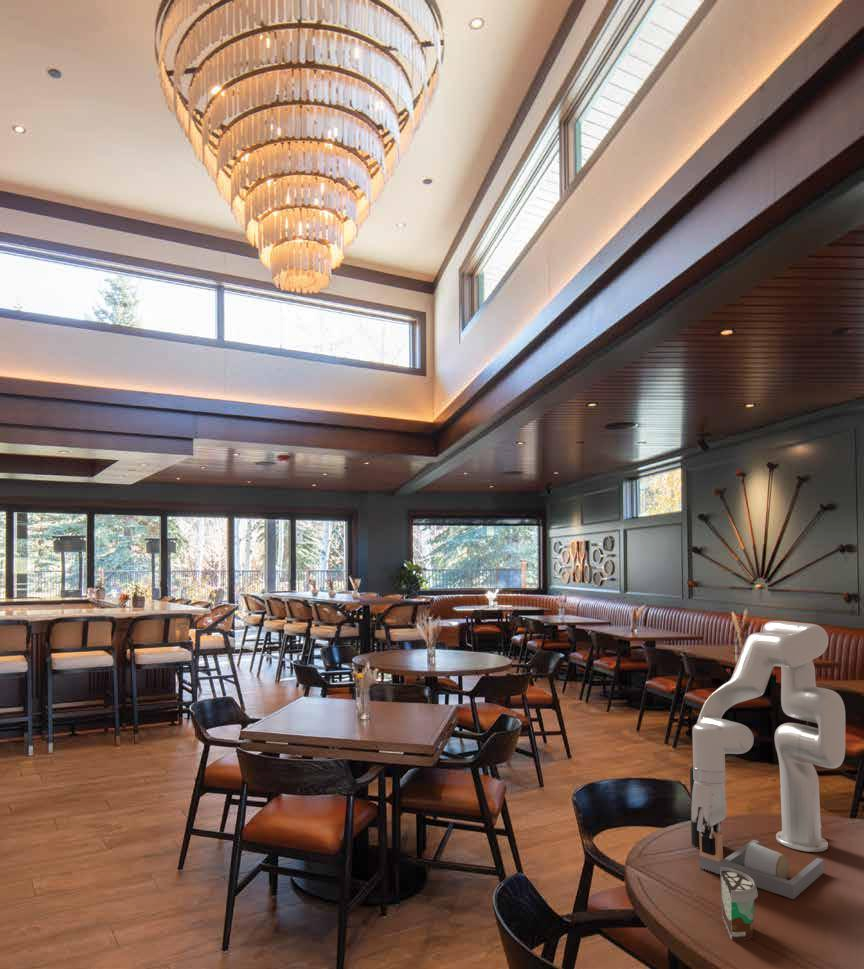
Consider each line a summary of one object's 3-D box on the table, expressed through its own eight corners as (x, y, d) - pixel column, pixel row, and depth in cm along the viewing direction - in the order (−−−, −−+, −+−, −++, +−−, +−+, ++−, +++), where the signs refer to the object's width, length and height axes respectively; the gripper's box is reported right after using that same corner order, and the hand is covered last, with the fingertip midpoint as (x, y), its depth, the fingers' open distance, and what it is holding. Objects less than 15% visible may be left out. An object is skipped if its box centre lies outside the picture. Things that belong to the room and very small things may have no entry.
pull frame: (735, 845, 191) (733, 810, 192) (824, 872, 175) (822, 834, 176) (700, 868, 177) (699, 830, 178) (793, 899, 161) (791, 857, 162)
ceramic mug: (779, 891, 165) (778, 857, 166) (743, 879, 171) (743, 846, 172) (795, 878, 173) (794, 845, 173) (761, 867, 178) (760, 835, 179)
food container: (766, 947, 141) (764, 894, 142) (733, 943, 143) (731, 891, 144) (751, 917, 153) (749, 868, 154) (721, 914, 155) (719, 865, 156)
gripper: (708, 765, 186) (710, 839, 184) (679, 778, 175) (681, 856, 173) (737, 772, 181) (739, 847, 179) (709, 785, 170) (711, 866, 168)
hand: (711, 851), depth 176 cm, fingers closed on pull frame, 2 cm apart
